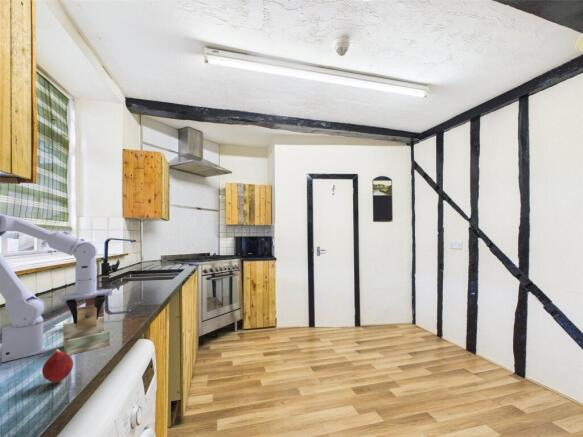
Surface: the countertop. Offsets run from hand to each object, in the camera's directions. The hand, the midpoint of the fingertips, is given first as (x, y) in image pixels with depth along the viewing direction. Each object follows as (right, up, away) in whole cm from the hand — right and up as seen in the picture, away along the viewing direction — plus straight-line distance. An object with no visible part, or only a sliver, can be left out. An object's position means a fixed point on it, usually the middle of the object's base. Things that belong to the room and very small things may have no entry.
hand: (85, 321), depth 96 cm
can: (-11, -9, +20) cm, 24 cm away
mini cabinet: (0, -2, 0) cm, 2 cm away
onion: (+10, -7, -24) cm, 27 cm away
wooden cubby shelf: (+1, -7, -1) cm, 8 cm away
